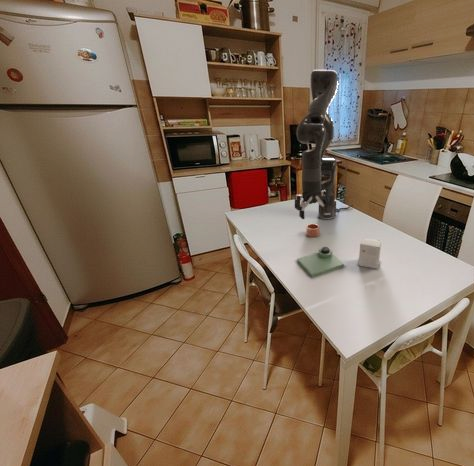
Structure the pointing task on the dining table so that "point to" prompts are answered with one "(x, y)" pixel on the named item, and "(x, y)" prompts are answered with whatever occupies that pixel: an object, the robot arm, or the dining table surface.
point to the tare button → (325, 250)
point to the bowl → (312, 230)
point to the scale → (320, 263)
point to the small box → (369, 253)
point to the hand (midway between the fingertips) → (311, 216)
